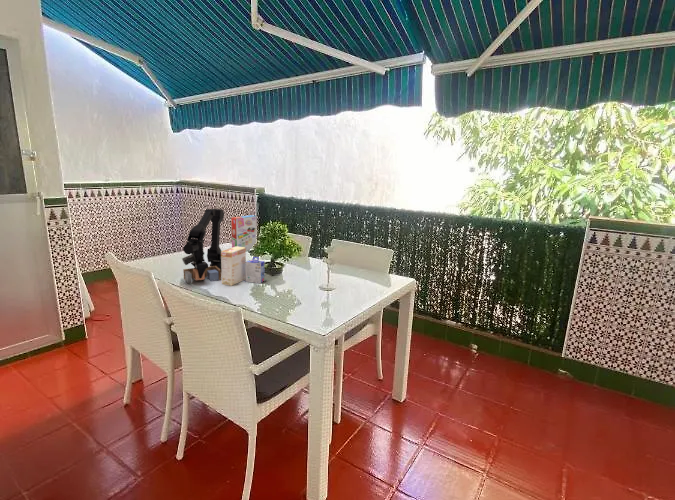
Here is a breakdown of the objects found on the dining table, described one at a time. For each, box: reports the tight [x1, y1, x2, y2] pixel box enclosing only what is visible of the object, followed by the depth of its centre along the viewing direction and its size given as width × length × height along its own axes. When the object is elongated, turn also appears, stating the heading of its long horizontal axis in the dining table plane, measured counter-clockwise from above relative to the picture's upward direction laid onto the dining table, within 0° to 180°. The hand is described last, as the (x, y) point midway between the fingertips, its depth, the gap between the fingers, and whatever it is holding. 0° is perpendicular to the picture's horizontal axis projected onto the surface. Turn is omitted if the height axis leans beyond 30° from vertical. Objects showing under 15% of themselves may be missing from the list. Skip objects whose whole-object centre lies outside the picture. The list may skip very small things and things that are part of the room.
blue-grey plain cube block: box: [206, 270, 220, 282], centre depth 221 cm, size 5×6×5 cm
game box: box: [231, 214, 257, 252], centre depth 294 cm, size 21×6×27 cm, turn 145°
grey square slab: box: [185, 271, 193, 284], centre depth 214 cm, size 2×6×6 cm, turn 34°
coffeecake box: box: [221, 246, 247, 287], centre depth 217 cm, size 15×7×20 cm, turn 160°
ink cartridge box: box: [245, 256, 265, 284], centre depth 220 cm, size 10×6×14 cm, turn 78°
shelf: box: [183, 265, 222, 281], centre depth 220 cm, size 19×10×6 cm, turn 124°
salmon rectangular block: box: [193, 269, 206, 281], centre depth 217 cm, size 5×6×5 cm
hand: (199, 276), depth 217 cm, fingers closed on salmon rectangular block, 6 cm apart
